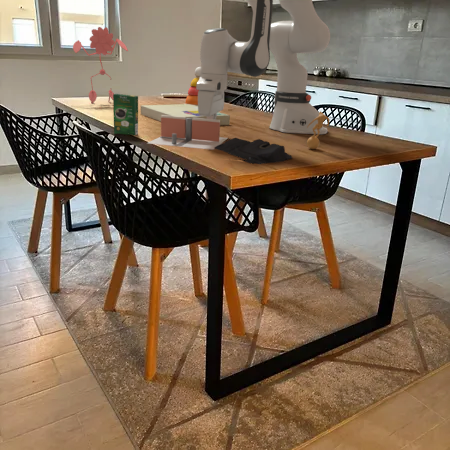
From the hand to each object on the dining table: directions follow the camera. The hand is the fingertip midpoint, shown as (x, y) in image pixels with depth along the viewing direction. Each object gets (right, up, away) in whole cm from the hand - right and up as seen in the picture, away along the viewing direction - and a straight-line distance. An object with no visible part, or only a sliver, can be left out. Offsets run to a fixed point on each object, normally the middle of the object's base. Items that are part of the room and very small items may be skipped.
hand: (211, 127), depth 151 cm
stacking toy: (-9, +25, +77) cm, 81 cm away
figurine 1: (-55, +27, +76) cm, 97 cm away
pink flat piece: (-11, -4, -2) cm, 12 cm away
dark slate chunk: (+12, -12, -16) cm, 23 cm away
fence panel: (-2, -5, -4) cm, 7 cm away
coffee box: (-28, -2, +3) cm, 29 cm away
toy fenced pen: (-7, -6, -4) cm, 10 cm away
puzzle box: (-13, +11, +41) cm, 45 cm away
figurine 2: (+33, -9, -5) cm, 34 cm away
